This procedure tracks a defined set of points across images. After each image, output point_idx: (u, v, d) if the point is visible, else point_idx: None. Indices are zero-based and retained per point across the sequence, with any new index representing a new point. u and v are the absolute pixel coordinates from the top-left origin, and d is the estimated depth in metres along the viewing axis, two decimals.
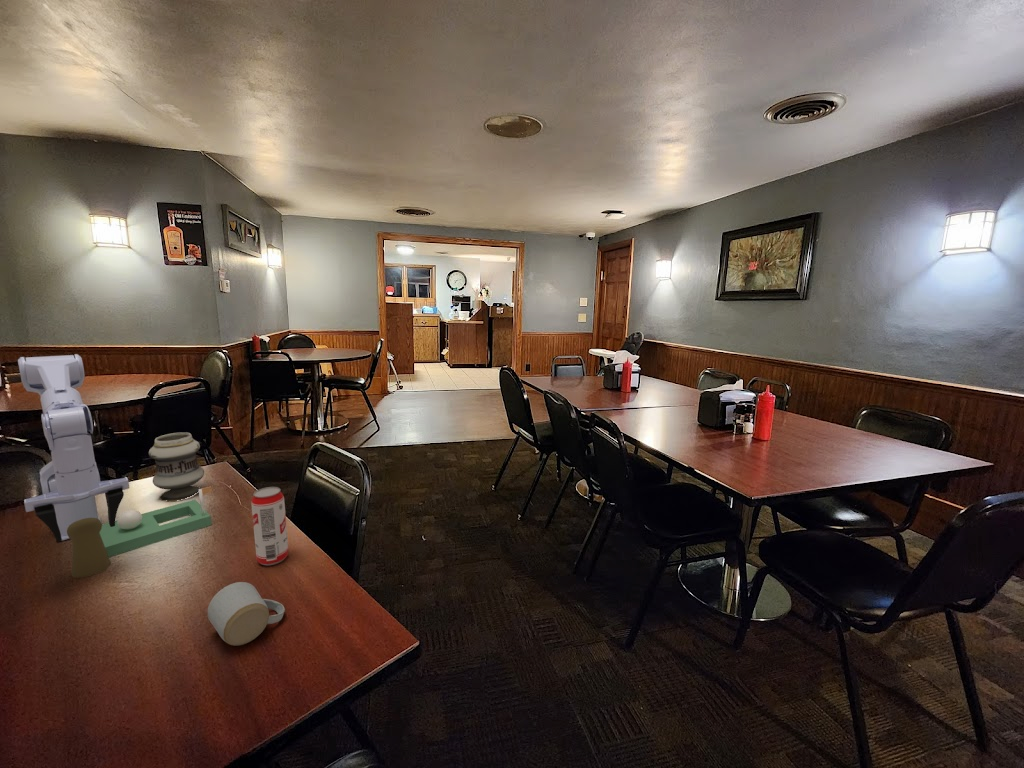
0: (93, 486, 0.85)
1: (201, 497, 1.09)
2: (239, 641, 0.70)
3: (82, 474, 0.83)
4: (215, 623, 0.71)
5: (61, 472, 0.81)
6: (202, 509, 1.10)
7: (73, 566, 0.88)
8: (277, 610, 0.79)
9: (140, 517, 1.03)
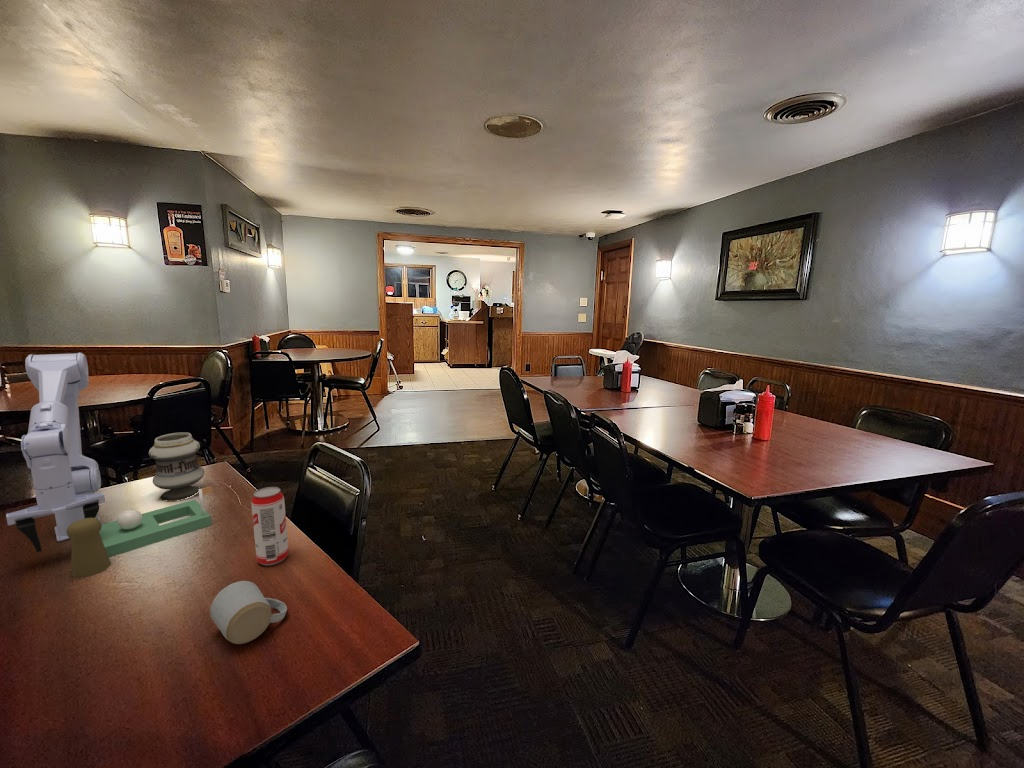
0: (70, 501, 0.93)
1: (201, 497, 1.09)
2: (241, 640, 0.71)
3: (60, 490, 0.91)
4: (218, 621, 0.71)
5: (37, 488, 0.89)
6: (202, 509, 1.10)
7: (73, 566, 0.88)
8: (279, 609, 0.79)
9: (140, 517, 1.03)
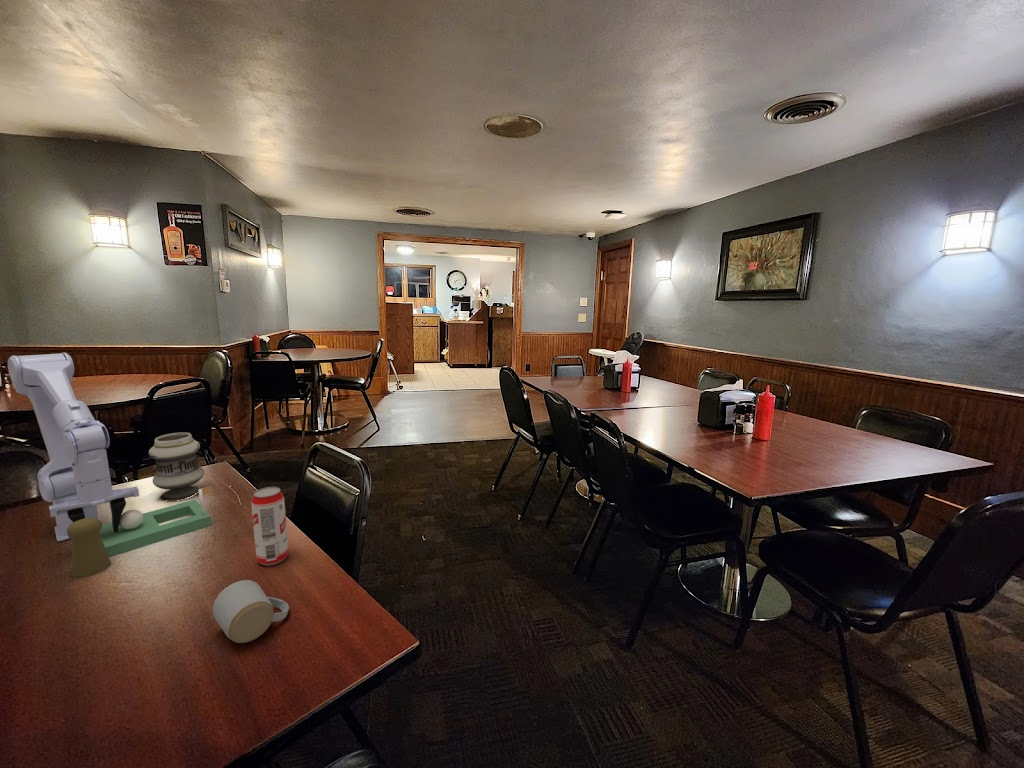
0: (108, 494, 0.97)
1: (201, 497, 1.09)
2: (244, 639, 0.71)
3: (98, 484, 0.95)
4: (220, 621, 0.71)
5: (84, 482, 0.94)
6: (202, 509, 1.10)
7: (73, 566, 0.88)
8: (281, 608, 0.79)
9: (141, 518, 1.03)
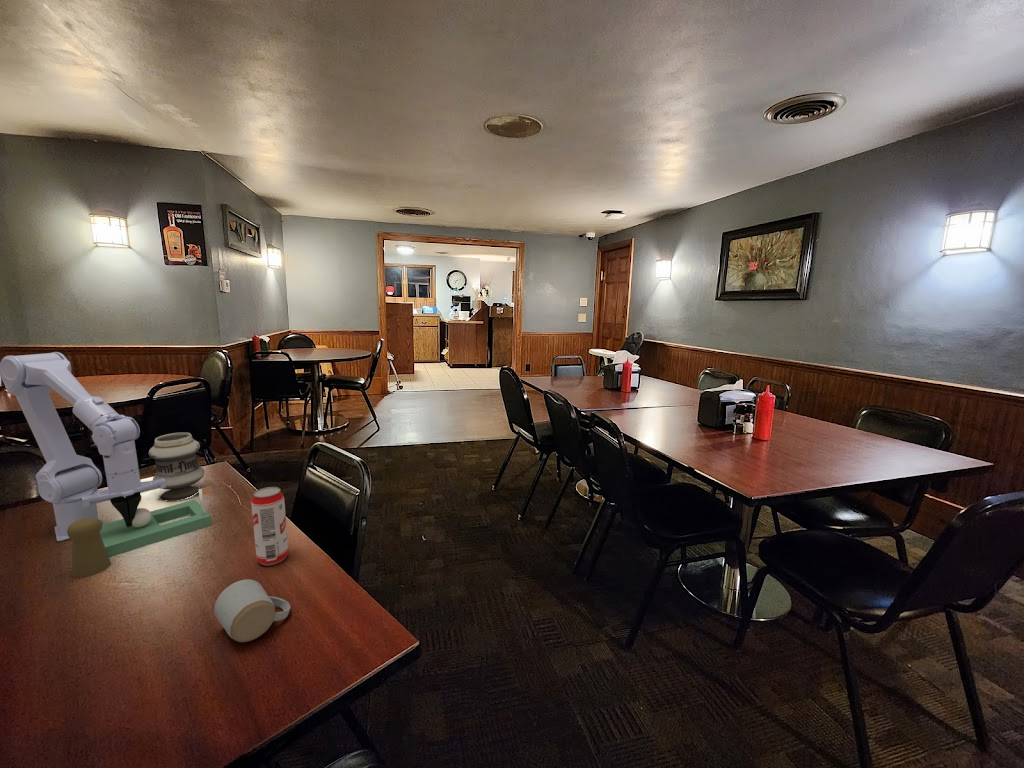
0: (137, 485, 1.01)
1: (201, 497, 1.09)
2: (245, 638, 0.71)
3: (128, 475, 0.99)
4: (222, 620, 0.71)
5: (119, 473, 0.98)
6: (202, 509, 1.10)
7: (73, 566, 0.88)
8: (283, 607, 0.80)
9: (148, 521, 1.04)
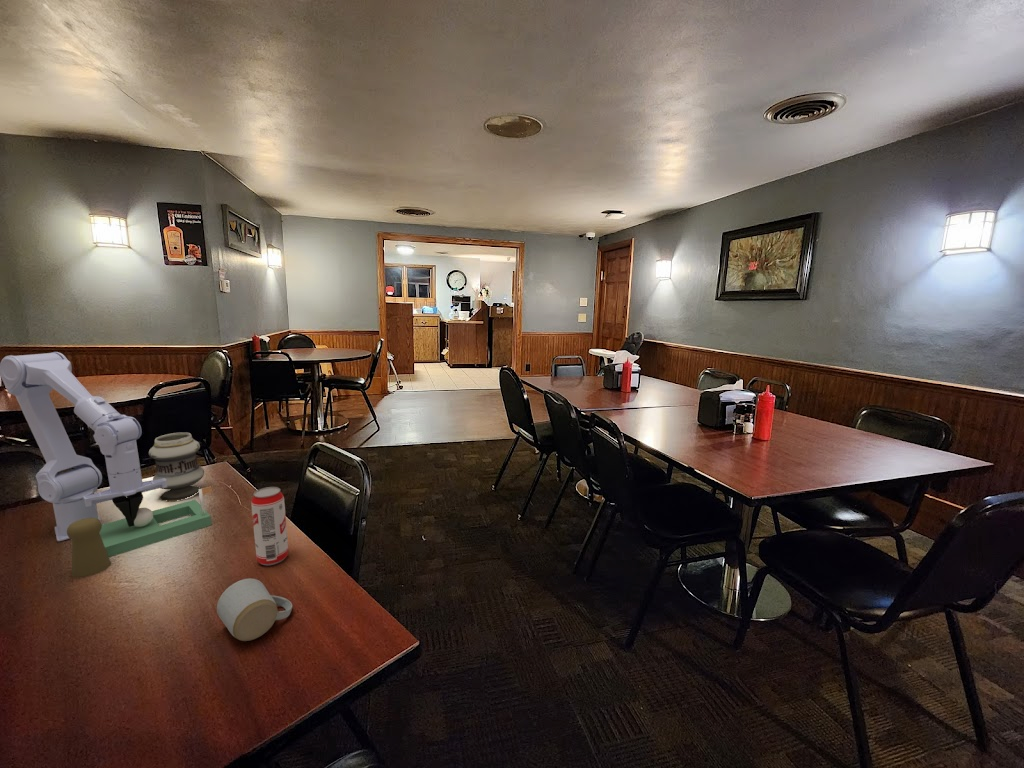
0: (138, 485, 1.01)
1: (201, 497, 1.09)
2: (248, 637, 0.71)
3: (130, 475, 0.99)
4: (224, 619, 0.72)
5: (122, 472, 0.98)
6: (202, 509, 1.10)
7: (73, 566, 0.88)
8: (285, 606, 0.80)
9: (149, 522, 1.04)
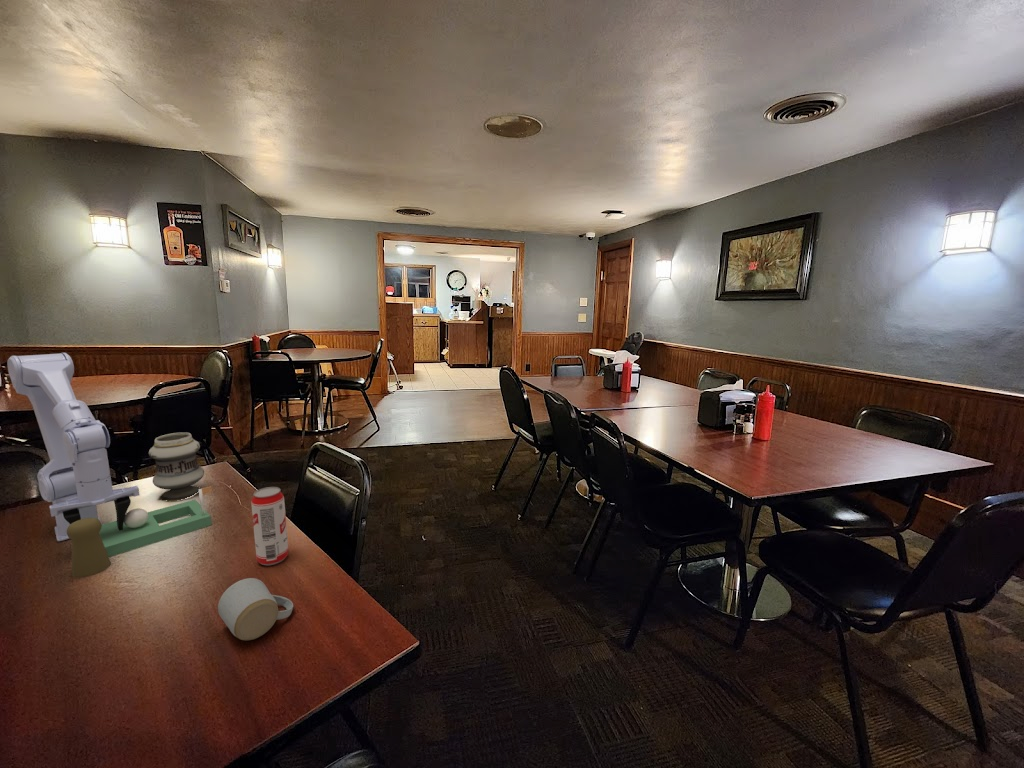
0: (108, 494, 0.97)
1: (201, 497, 1.09)
2: (249, 636, 0.71)
3: (99, 483, 0.96)
4: (225, 618, 0.72)
5: (84, 482, 0.94)
6: (202, 509, 1.10)
7: (73, 566, 0.88)
8: (286, 606, 0.80)
9: (146, 519, 1.04)
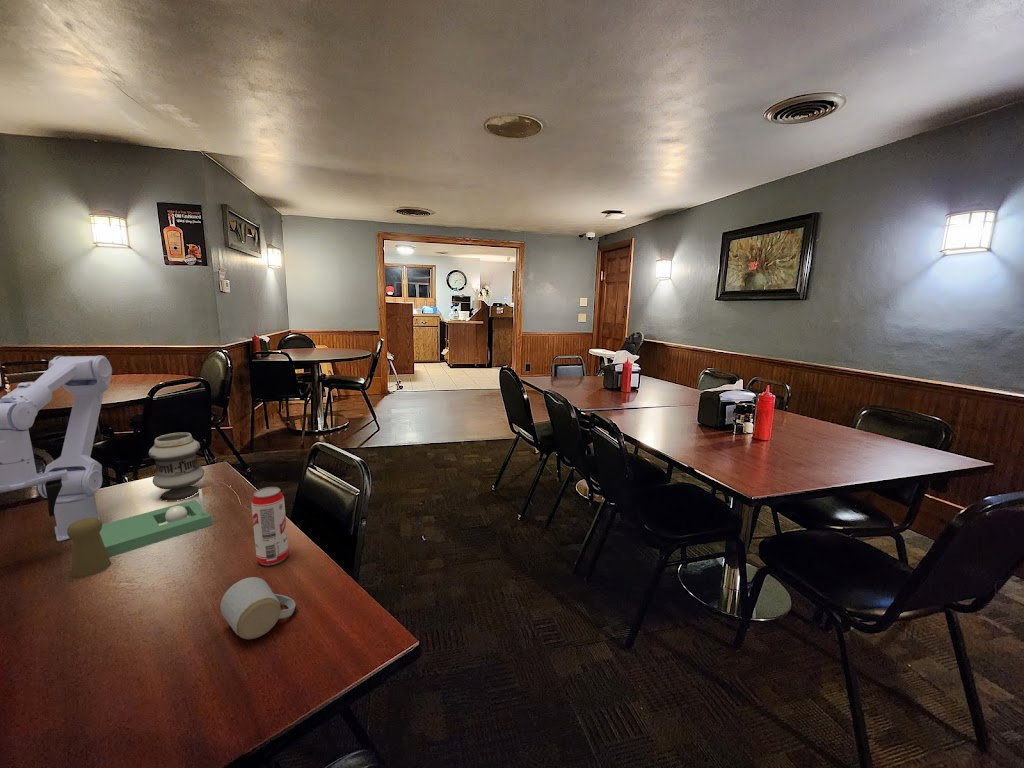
0: (30, 477, 0.89)
1: (201, 497, 1.09)
2: (251, 635, 0.72)
3: (18, 465, 0.87)
4: (228, 617, 0.72)
5: None
6: (202, 509, 1.10)
7: (73, 566, 0.88)
8: (288, 605, 0.80)
9: (173, 512, 1.09)
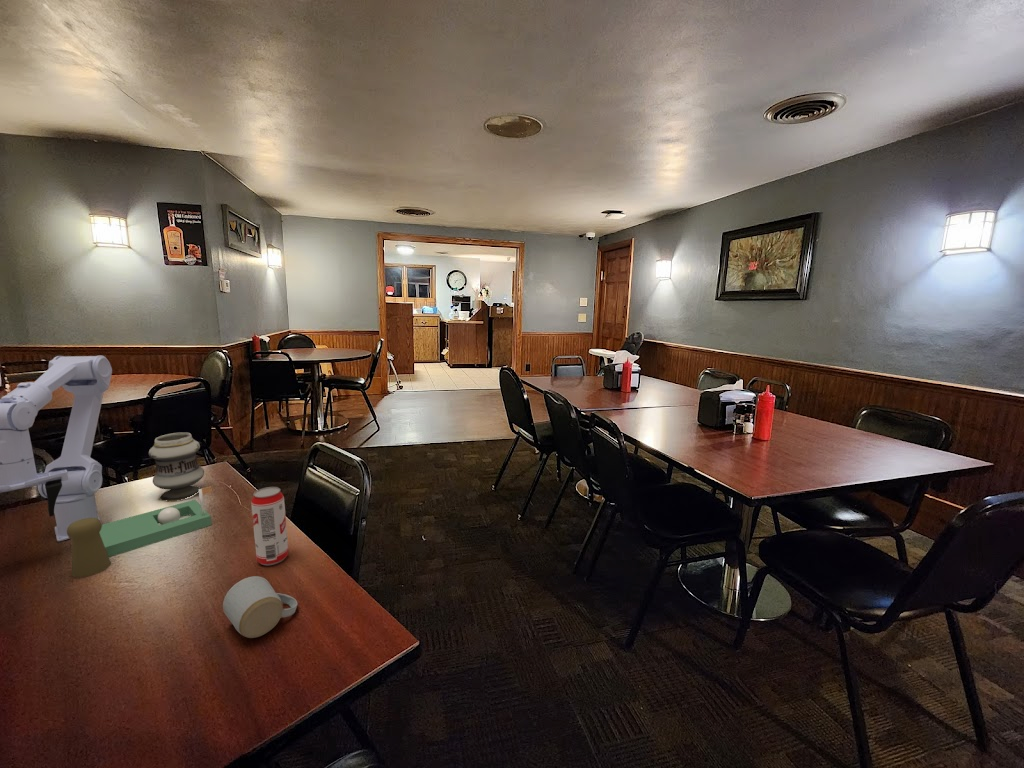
0: (30, 477, 0.89)
1: (201, 497, 1.09)
2: (254, 634, 0.72)
3: (18, 465, 0.87)
4: (230, 616, 0.72)
5: None
6: (202, 509, 1.10)
7: (73, 566, 0.88)
8: (290, 604, 0.80)
9: (161, 516, 1.07)
